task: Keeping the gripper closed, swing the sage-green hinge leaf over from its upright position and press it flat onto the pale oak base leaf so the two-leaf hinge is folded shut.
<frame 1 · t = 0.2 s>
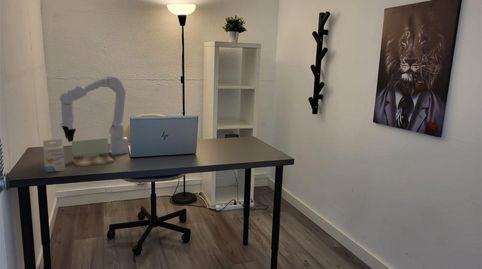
hand: (69, 140, 195), 10 cm above the table, tool pointing down, fingers open, 7 cm apart
ink box: (55, 170, 176), on the table
base leaf: (91, 159, 196), on the table
hinge leaf: (90, 148, 195), point 6 cm above the table, hinge at 95.0°
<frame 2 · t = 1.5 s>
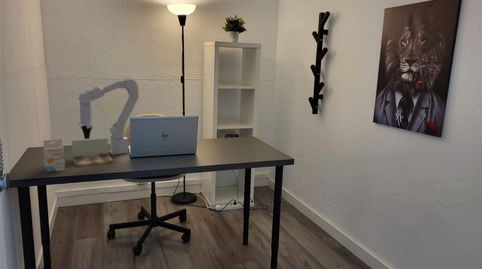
hand: (86, 138, 202), 9 cm above the table, tool pointing down, fingers closed
nothing on the table moved.
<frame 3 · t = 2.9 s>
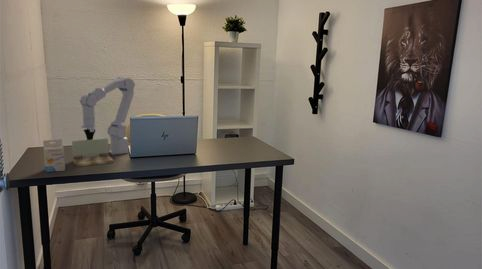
hand: (90, 142, 195), 9 cm above the table, tool pointing down, fingers closed
hinge leaf: (90, 148, 194), point 6 cm above the table, hinge at 91.0°, touching gripper
everything else where it was.
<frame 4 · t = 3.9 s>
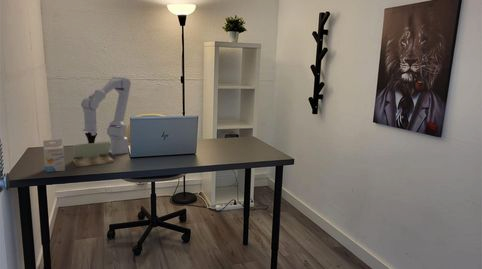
hand: (91, 146, 192), 8 cm above the table, tool pointing down, fingers closed, pressing on hinge leaf
hinge leaf: (91, 150, 193), point 5 cm above the table, hinge at 60.9°, touching gripper
everything else where it was.
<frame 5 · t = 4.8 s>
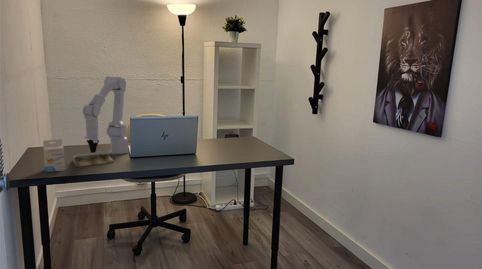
hand: (93, 153, 189), 5 cm above the table, tool pointing down, fingers closed, pressing on hinge leaf
hinge leaf: (92, 154, 192), point 3 cm above the table, hinge at 22.6°, touching gripper
everything else where it was.
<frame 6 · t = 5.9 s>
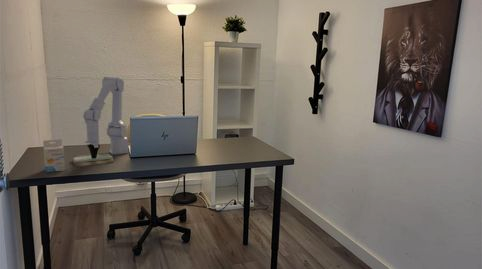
hand: (94, 157, 189), 3 cm above the table, tool pointing down, fingers closed
hinge leaf: (92, 157, 192), point 2 cm above the table, hinge at 2.1°
everything else where it was.
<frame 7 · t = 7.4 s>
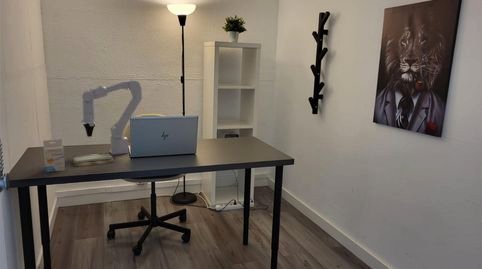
hand: (89, 136, 203), 10 cm above the table, tool pointing down, fingers closed
nothing on the table moved.
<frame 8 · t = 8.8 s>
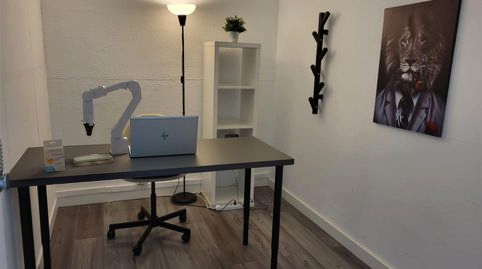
hand: (89, 135, 204), 10 cm above the table, tool pointing down, fingers closed
nothing on the table moved.
at the end: hinge leaf at +2° (first picture: +95°) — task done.
